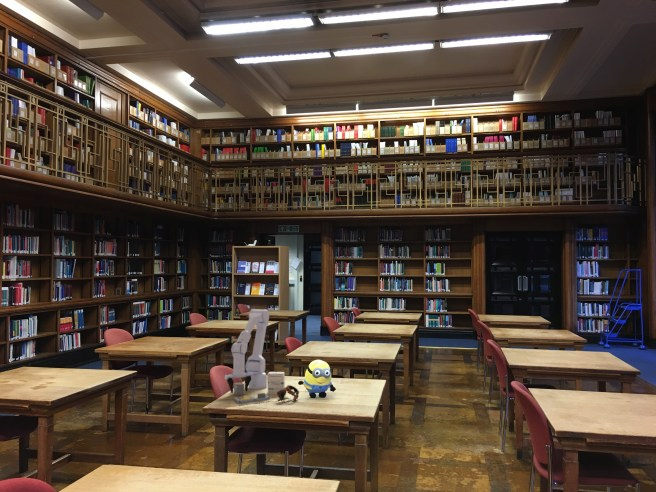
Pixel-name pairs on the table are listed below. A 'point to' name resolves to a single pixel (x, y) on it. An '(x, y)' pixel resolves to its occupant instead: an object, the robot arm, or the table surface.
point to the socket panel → (252, 399)
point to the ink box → (275, 382)
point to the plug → (239, 389)
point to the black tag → (261, 395)
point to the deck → (238, 396)
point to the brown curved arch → (289, 390)
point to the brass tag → (246, 397)
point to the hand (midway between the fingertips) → (238, 391)
